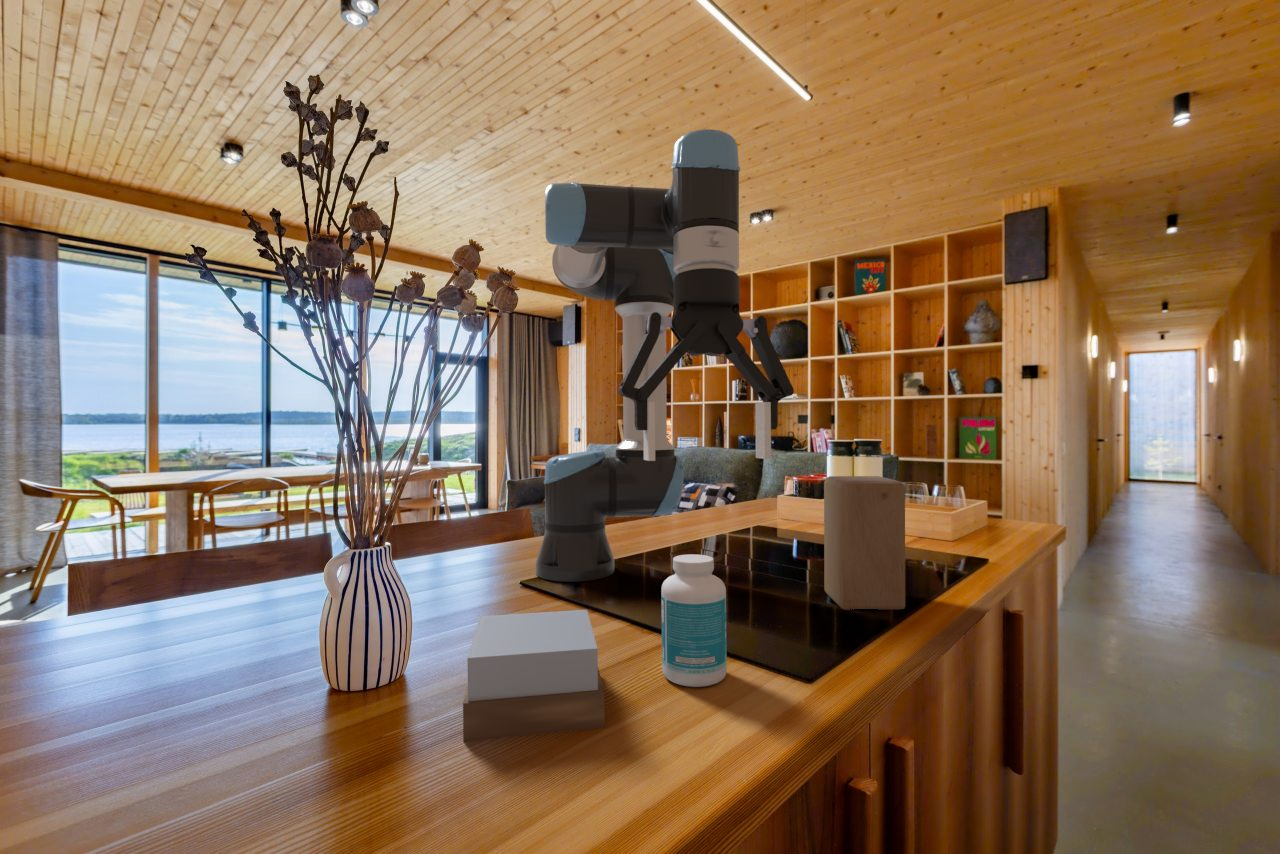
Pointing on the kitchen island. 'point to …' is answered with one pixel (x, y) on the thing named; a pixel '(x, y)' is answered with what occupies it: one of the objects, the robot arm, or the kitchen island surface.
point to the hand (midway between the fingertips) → (707, 459)
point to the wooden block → (864, 542)
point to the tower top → (532, 655)
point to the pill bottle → (694, 623)
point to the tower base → (533, 714)
